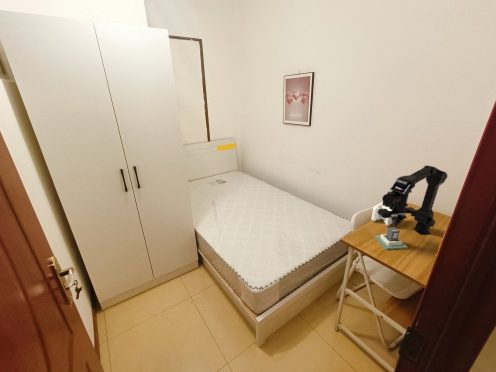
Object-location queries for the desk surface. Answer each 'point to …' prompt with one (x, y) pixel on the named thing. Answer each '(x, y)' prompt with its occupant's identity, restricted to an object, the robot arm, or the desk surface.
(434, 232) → the desk surface
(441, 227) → the desk surface
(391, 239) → the plug
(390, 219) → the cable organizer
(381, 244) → the board
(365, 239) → the desk surface
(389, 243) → the socket
